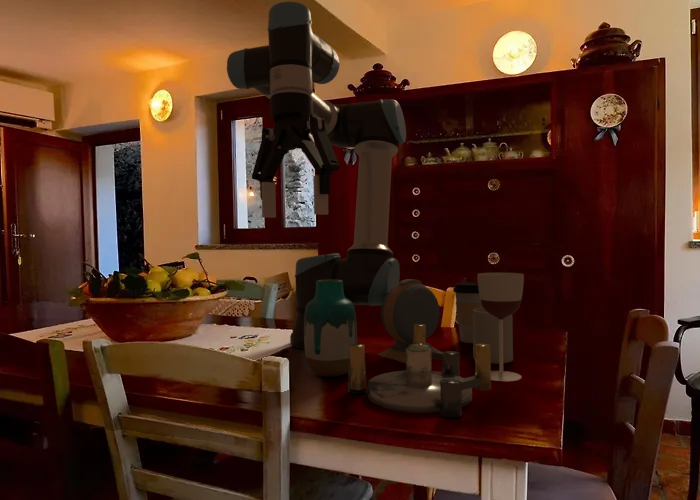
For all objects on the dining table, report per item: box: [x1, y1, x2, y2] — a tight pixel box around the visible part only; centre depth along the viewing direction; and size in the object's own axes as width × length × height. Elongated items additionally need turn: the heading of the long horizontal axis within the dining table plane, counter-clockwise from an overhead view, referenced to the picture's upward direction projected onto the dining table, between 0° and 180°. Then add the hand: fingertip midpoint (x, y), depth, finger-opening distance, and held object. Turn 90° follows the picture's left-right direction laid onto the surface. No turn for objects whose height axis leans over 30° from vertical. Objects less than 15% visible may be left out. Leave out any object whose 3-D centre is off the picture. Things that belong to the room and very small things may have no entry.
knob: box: [347, 343, 367, 395], centre depth 88 cm, size 10×3×10 cm, turn 1°
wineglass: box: [477, 272, 525, 382], centre depth 100 cm, size 8×9×20 cm
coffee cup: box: [452, 281, 483, 344], centre depth 133 cm, size 9×9×15 cm
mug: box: [472, 308, 514, 365], centre depth 115 cm, size 12×8×11 cm
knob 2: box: [440, 344, 492, 419], centre depth 80 cm, size 10×3×10 cm, turn 122°
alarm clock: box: [377, 278, 442, 364], centre depth 119 cm, size 14×10×18 cm
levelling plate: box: [366, 344, 473, 414], centre depth 89 cm, size 18×18×9 cm
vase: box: [304, 279, 358, 378], centre depth 103 cm, size 11×11×19 cm
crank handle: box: [413, 324, 461, 377], centre depth 99 cm, size 10×3×10 cm, turn 49°
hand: (294, 216), depth 91 cm, fingers open, 13 cm apart
